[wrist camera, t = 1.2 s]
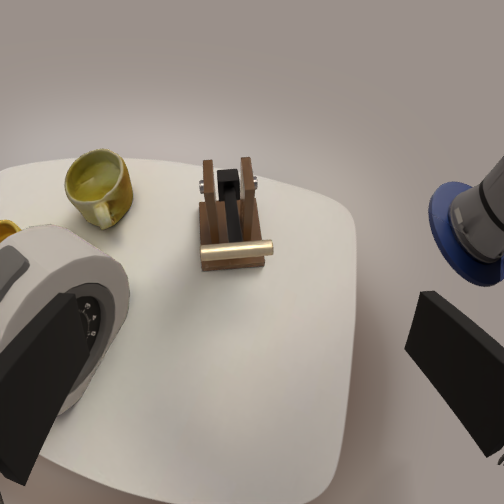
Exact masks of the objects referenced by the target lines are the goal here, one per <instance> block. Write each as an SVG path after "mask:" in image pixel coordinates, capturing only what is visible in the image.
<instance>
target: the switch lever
mask: <svg viewBox="0 0 504 504" xmlns="http://www.w3.org/2000/svg"><path fill="white" fill-rule="evenodd" d="M217 180H218V194H219V202H221V201H225V212H226V223H227V233H228V243H223V244H212V245H201V246H200V257H201V261H210V260H221V259H233V258H245V257H257V256H268V255H273V243H272V240H260V241H248V242H243V239H242V232H241V226H240V220H239V213H238V207H237V200H240V180H239V175H238V170H237V169H227V170H217Z"/></svg>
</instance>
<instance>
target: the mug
mask: <svg viewBox="0 0 504 504" xmlns="http://www.w3.org/2000/svg"><path fill="white" fill-rule="evenodd" d="M64 186H65V192H66V195H67V197H68V199H69V200H70V202H71V203H72V204H73V205H74V206H75V207H76V208H77V209H78V210H79V211H80V212H81V213H82V215H83V216H84V218H85V219H86V220H87V221H88V222H90V223H91V224H93V225H96V226H100V228H101V230H104V229H106V228H108V227H111V226H113V225H114V224H116V223H117V222H118V221H119V220H120V219H121V218H122V217H123V216H124V214H125V213H126V212H127V211H128V210H129V209H130V207H131V204H132V200H133V191H132V186H131V182H130V177H129V173H128V169H127V167H126V164H125V162H124V161H123V159H122V158H121V157H120V156H119V155H118V154H116V153H114V152H112V151H110V150H108V149H96V150H94V151H90V152H88V153H86V154H83V155H82V156H80V157H79V158H78V159H77V160H75V161H74V162H73V164H72V165H71V167H70V168H69V170H68V172H67V174H66V178H65V185H64Z"/></svg>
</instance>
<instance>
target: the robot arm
mask: <svg viewBox="0 0 504 504" xmlns="http://www.w3.org/2000/svg"><path fill="white" fill-rule="evenodd" d="M448 219H449V224H450V228H451V231H452V233H453V235H454V237H455V239H456V241H457V243H458V244H459V246H460V247H461V248H462V249H463V251H464V252H465V253H466V254H467V255H468V256H469V257H470V258H472V259H473V260H474V261H476V262H478V263H480V264H484V265H490V264H493V263H495V262H496V261H497V260H499V259H500V258H501V257H502V256H503V255H504V156H503V157H502V159H501V160H500V161H499V162H498V163H497V164H496V166H495V167H494V168H493V169H492V170H491V172H490V173H489V174H488V175H487V176H486V177H485V178H484V180H483V181H482V182H481V183H480V184H479V185H477V186H474V187H472V188H470V189H468V190H466V191H464V192H461V193H460V194H459V195H457V196H456V197H455V198H454V199H453V200H452V202H451V203H450V205H449V209H448ZM405 350H406V352H407V353H408V354H409V355H410V357H411V358H412V359H413V360H414V361H415V363H416V364H417V365H418V367H419V368H420V369H421V370H422V372H423V373H424V374H425V375H426V377H427V378H428V379H429V380H430V382H431V383H432V384H433V386H434V387H435V388H436V389H437V391H438V392H439V393H440V395H441V396H442V397H443V399H444V400H445V401H446V402H447V404H448V405H449V407H450V408H451V409H452V410H453V412H454V413H455V415H456V416H457V417H458V419H459V420H460V421H461V423H462V424H463V425H464V427H465V428H466V430H467V431H468V432H469V434H470V435H471V437H472V438H473V439H474V441H475V442H476V444H477V445H478V446H479V448H480V449H481V450H482V452H483V453H484V455H485V456H486V458H487V457H489V456H491V455H492V454H494V453H496V452H497V451H499V450H500V449H501V448H502V447H503V446H504V348H503V346H501V345H500V344H499V343H498V342H497V341H496V340H494V339H493V338H492V337H491V336H489V334H487V333H486V332H485V331H484V330H483V329H482V328H480V327H479V326H478V325H477V324H476V323H474V322H473V321H472V320H471V319H469V318H468V317H467V316H466V315H465V314H463V313H462V312H461V311H459V310H458V309H457V308H456V307H455V306H453V305H452V304H451V303H449V302H448V301H447V300H446V299H444V298H443V297H442V296H440V295H439V294H438V293H437V292H435V291H423V292H420V295H419V299H418V303H417V307H416V311H415V314H414V318H413V322H412V325H411V329H410V332H409V335H408V339H407V342H406V345H405ZM89 356H90V353H89V349H88V345H87V342H86V338H85V334H84V330H83V326H82V322H81V318H80V314H79V309H78V305H77V300H76V295H75V294H74V293H58V294H57V295H56V296H55V297H54V298H53V299H52V300H50V301H49V302H48V303H47V304H46V305H45V306H44V307H43V308H42V309H41V310H40V311H39V312H38V313H37V314H36V315H35V317H34V318H33V319H32V320H31V321H30V322H29V323H28V324H27V325H26V326H25V327H24V328H23V329H22V330H21V331H20V332H19V333H18V334H17V335H16V336H15V338H14V339H13V340H12V341H11V342H10V343H9V344H8V345H7V346H6V347H5V349H4V350H3V351H2V352H1V353H0V472H1V473H2V474H3V475H4V477H5V478H7V479H10V480H12V481H14V482H16V483H18V484H21V485H23V486H25V485H26V482H27V480H28V477H29V475H30V473H31V470H32V468H33V466H34V464H35V461H36V459H37V457H38V455H39V453H40V450H41V448H42V446H43V444H44V442H45V440H46V438H47V435H48V433H49V431H50V429H51V427H52V425H53V423H54V421H55V419H56V417H57V415H58V413H59V411H60V409H61V407H62V405H63V404H64V402H65V400H66V398H67V396H68V394H69V392H70V390H71V388H72V387H73V385H74V383H75V381H76V379H77V377H78V376H79V374H80V372H81V370H82V369H83V367H84V365H85V363H86V361H87V360H88V358H89ZM503 461H504V454H503V455H502V457H501V458H500V459H499V461H498V465H500V464H501V463H502V462H503ZM0 504H4V502H3V499H2V496H1V493H0Z"/></svg>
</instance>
